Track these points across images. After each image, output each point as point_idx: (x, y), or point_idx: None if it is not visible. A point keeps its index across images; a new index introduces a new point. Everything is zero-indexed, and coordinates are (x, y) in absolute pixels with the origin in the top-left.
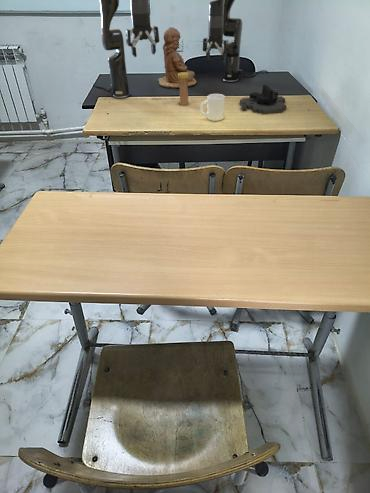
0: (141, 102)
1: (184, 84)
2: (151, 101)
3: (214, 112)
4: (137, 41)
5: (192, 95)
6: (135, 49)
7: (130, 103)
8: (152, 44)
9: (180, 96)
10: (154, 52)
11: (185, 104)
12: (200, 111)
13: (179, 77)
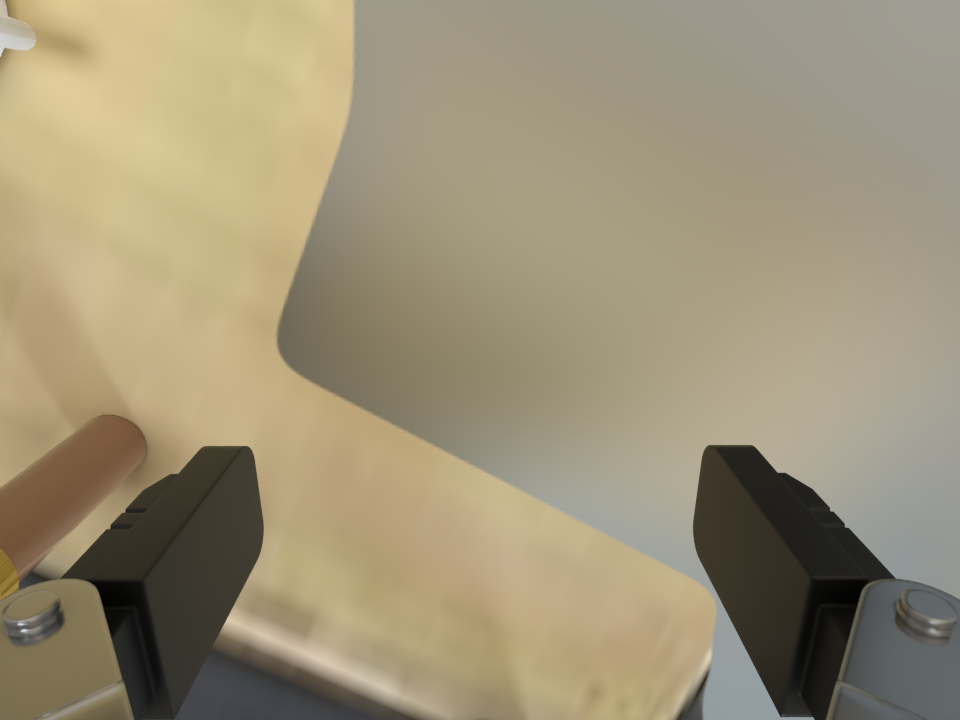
0: (401, 608)
1: (6, 501)
2: (329, 594)
3: None
4: (859, 705)
5: None
6: (799, 539)
7: (476, 624)
8: (136, 641)
9: (110, 471)
10: (202, 458)
11: (109, 417)
12: (33, 36)
13: (7, 564)
